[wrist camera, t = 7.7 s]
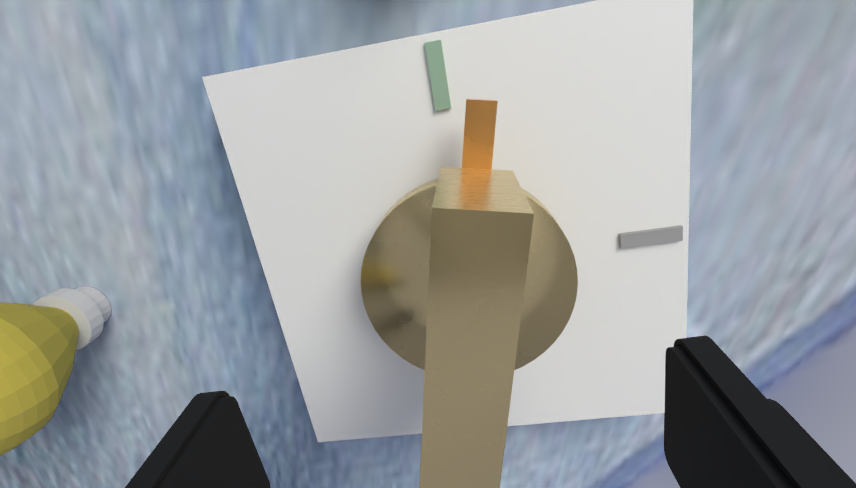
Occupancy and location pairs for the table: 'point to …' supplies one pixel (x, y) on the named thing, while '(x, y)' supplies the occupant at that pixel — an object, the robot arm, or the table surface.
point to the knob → (468, 300)
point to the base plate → (513, 150)
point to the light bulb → (42, 356)
